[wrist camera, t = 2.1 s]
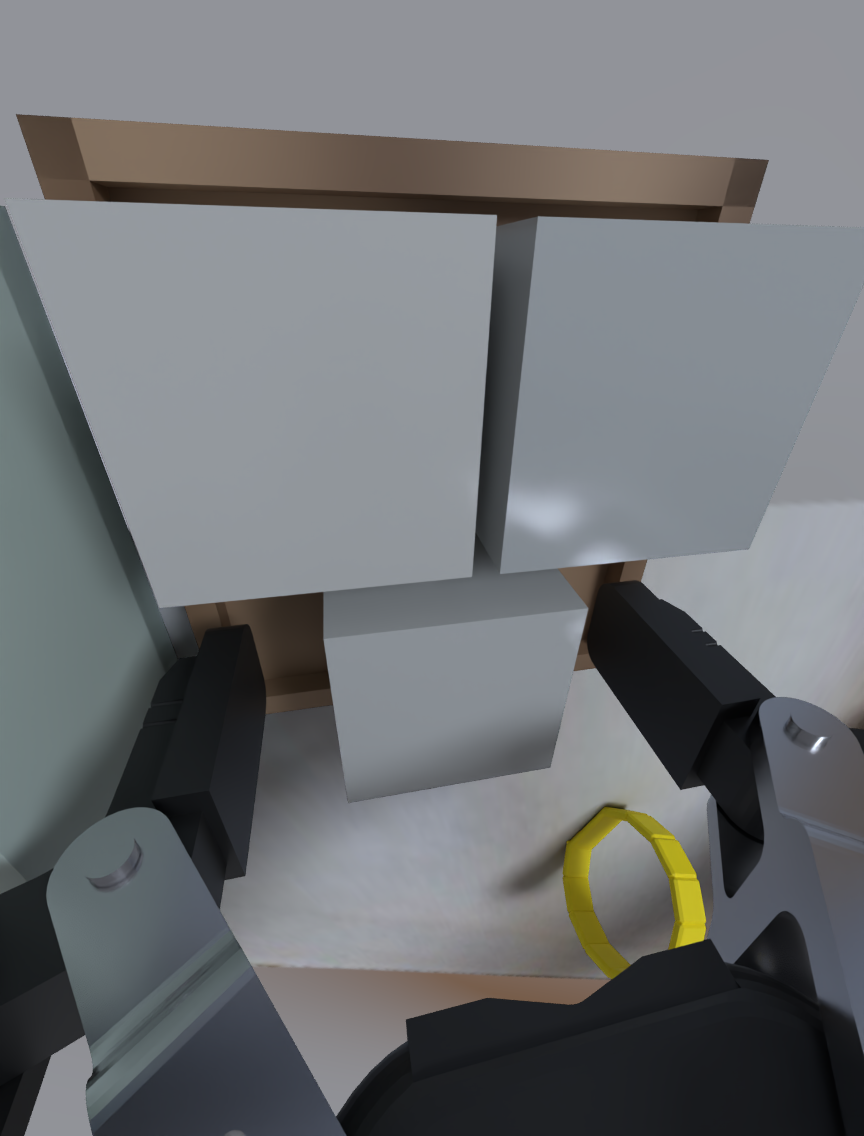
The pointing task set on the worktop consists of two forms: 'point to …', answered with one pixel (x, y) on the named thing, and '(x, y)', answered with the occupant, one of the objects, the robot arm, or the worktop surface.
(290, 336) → the light grey cube
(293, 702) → the walnut tray
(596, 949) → the watch
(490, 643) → the grey cube
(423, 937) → the worktop surface
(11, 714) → the green bin
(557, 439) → the grey stone
